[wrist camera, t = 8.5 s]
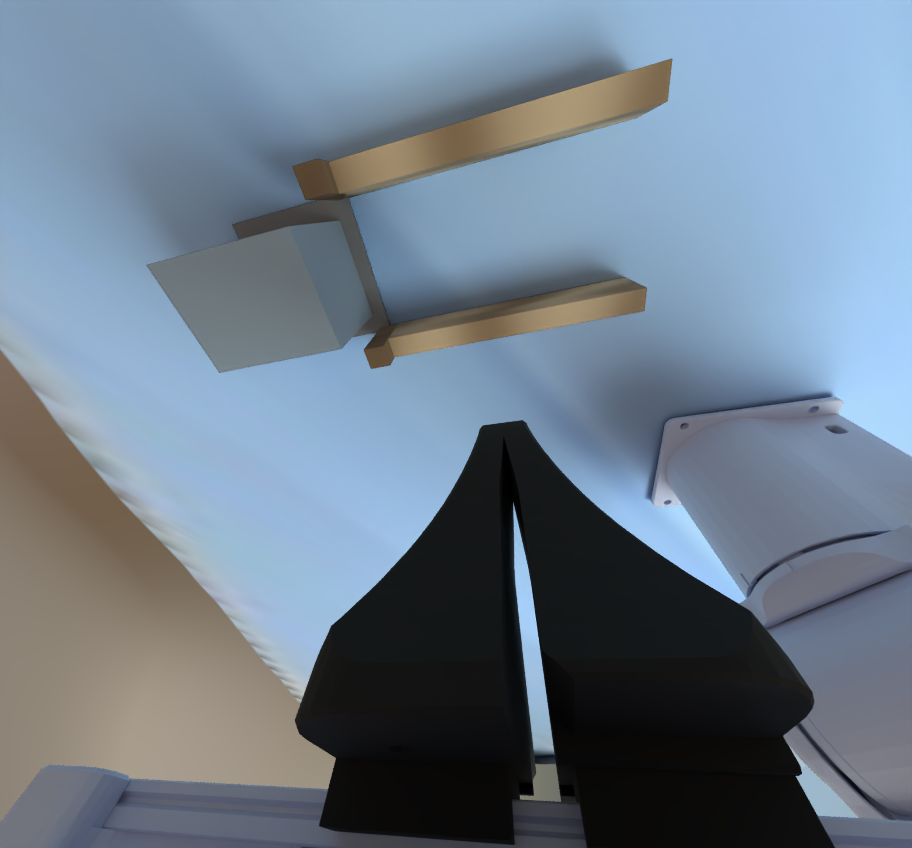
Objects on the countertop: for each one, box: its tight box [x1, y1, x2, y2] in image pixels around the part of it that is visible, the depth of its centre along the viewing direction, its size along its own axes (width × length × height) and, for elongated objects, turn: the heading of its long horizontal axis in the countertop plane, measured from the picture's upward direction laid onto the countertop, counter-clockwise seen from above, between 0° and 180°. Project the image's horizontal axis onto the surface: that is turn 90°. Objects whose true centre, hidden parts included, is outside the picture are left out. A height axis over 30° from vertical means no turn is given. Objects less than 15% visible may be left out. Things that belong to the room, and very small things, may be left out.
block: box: [147, 221, 373, 373], centre depth 15 cm, size 6×4×5 cm
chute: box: [292, 59, 672, 369], centre depth 14 cm, size 13×8×4 cm, turn 102°
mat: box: [232, 198, 390, 337], centre depth 17 cm, size 6×6×1 cm
